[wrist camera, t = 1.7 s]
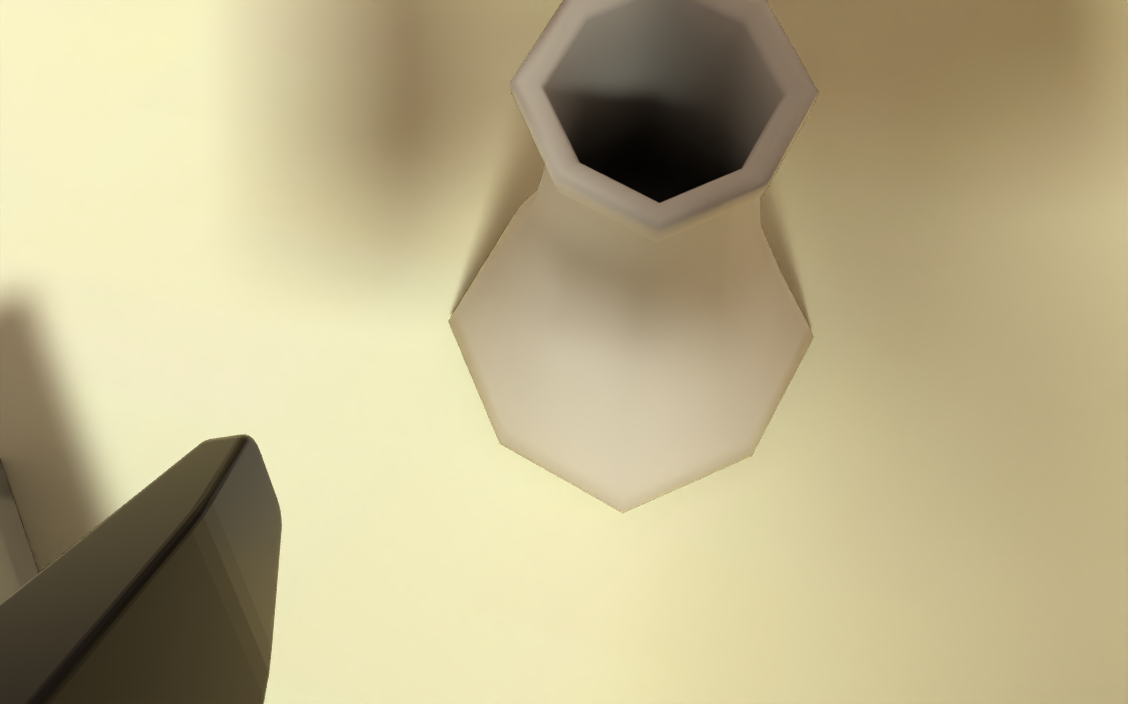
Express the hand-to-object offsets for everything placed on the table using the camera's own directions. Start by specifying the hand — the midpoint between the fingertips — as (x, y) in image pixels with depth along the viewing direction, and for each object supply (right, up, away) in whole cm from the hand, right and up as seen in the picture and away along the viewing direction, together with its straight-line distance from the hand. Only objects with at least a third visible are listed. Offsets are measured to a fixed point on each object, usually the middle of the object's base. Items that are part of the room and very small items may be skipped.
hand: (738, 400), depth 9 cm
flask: (0, +1, +11) cm, 11 cm away
